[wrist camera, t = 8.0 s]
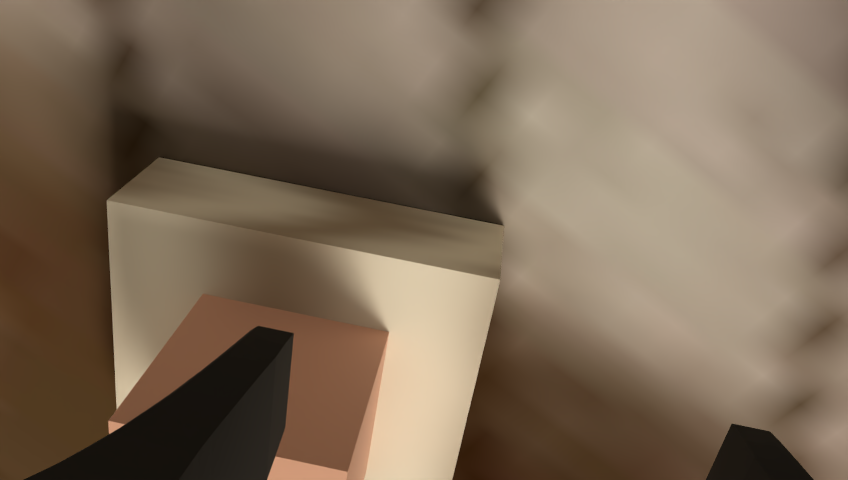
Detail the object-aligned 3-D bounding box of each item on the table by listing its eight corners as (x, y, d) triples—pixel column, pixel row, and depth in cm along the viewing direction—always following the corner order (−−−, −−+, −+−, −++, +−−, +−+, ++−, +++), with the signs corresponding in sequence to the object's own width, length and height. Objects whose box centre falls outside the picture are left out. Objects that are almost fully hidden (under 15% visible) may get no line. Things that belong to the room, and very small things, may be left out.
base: (504, 225, 21) (500, 280, 18) (444, 482, 26) (434, 554, 23) (159, 157, 22) (106, 200, 19) (161, 421, 26) (120, 486, 24)
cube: (389, 332, 20) (348, 471, 15) (366, 471, 22) (324, 627, 18) (202, 293, 20) (108, 420, 15) (200, 435, 22) (117, 581, 18)
